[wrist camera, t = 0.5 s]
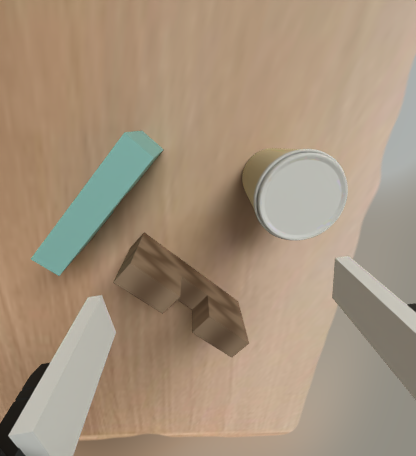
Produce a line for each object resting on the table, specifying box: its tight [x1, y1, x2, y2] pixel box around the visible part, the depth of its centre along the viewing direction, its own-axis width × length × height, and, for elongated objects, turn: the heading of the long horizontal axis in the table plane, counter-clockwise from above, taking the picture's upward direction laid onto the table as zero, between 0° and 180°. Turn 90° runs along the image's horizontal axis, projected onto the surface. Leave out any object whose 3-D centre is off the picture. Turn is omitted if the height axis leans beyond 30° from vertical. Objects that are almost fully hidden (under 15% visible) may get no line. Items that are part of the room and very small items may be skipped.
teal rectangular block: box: [31, 131, 163, 276], centre depth 31 cm, size 4×18×9 cm, turn 138°
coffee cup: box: [242, 148, 348, 240], centre depth 30 cm, size 9×9×12 cm
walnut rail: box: [113, 233, 249, 358], centre depth 37 cm, size 20×4×9 cm, turn 48°
